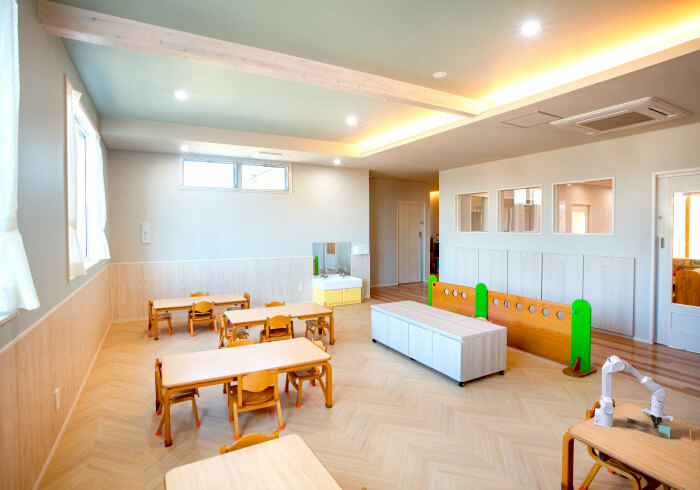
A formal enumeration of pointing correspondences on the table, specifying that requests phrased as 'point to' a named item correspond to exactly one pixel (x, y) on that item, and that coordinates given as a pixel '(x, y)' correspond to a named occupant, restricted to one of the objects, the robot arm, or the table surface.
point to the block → (665, 429)
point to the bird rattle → (648, 414)
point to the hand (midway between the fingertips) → (655, 427)
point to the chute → (644, 428)
